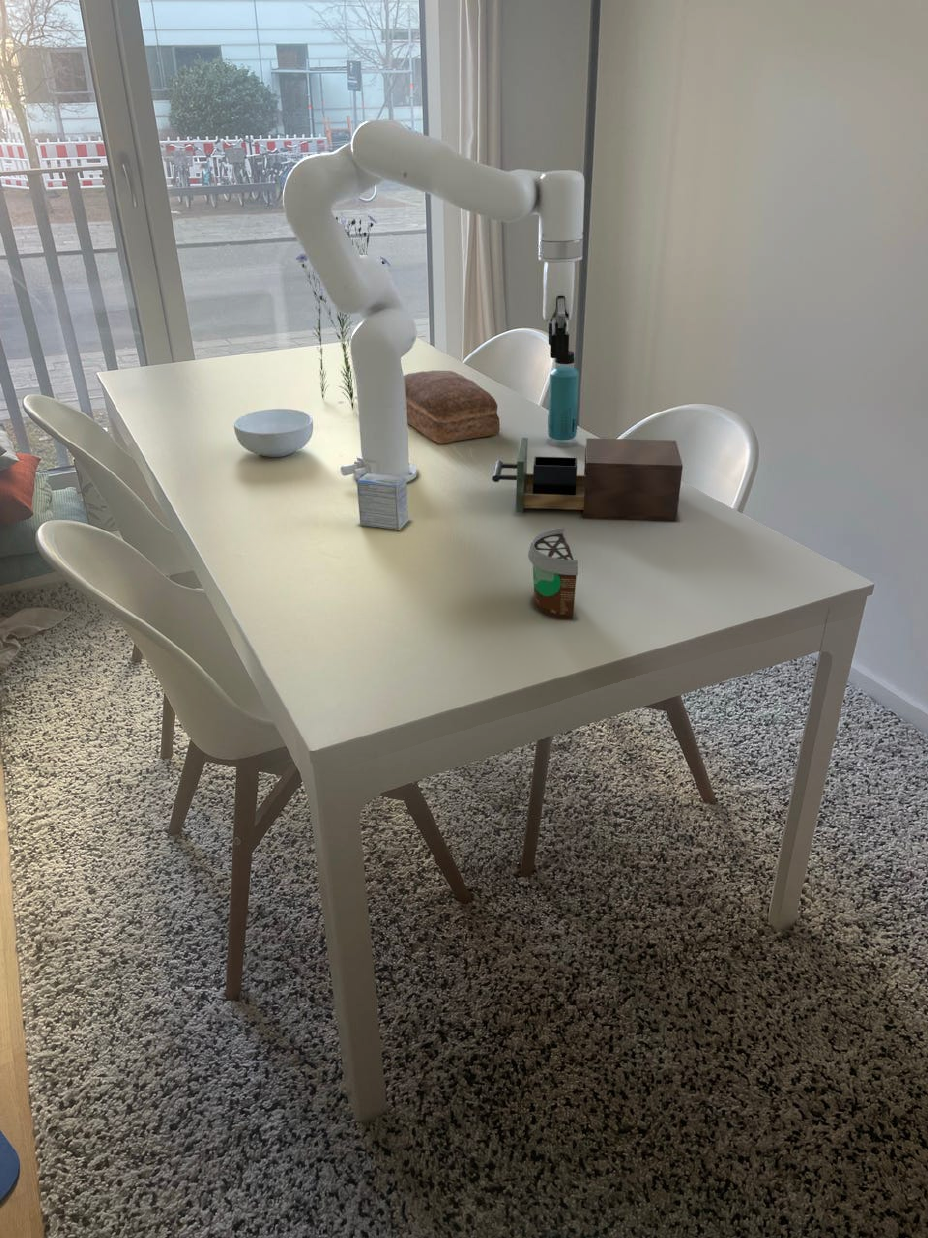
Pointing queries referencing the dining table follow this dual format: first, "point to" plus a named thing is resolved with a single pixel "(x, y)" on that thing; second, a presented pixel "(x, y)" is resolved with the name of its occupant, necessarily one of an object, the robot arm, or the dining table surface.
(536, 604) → the food container
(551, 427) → the beverage bottle
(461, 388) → the bread
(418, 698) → the dining table surface
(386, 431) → the robot arm
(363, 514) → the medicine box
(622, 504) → the cabinet
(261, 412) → the cereal bowl
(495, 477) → the drawer
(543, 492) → the dark glass display case
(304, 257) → the wildflower
